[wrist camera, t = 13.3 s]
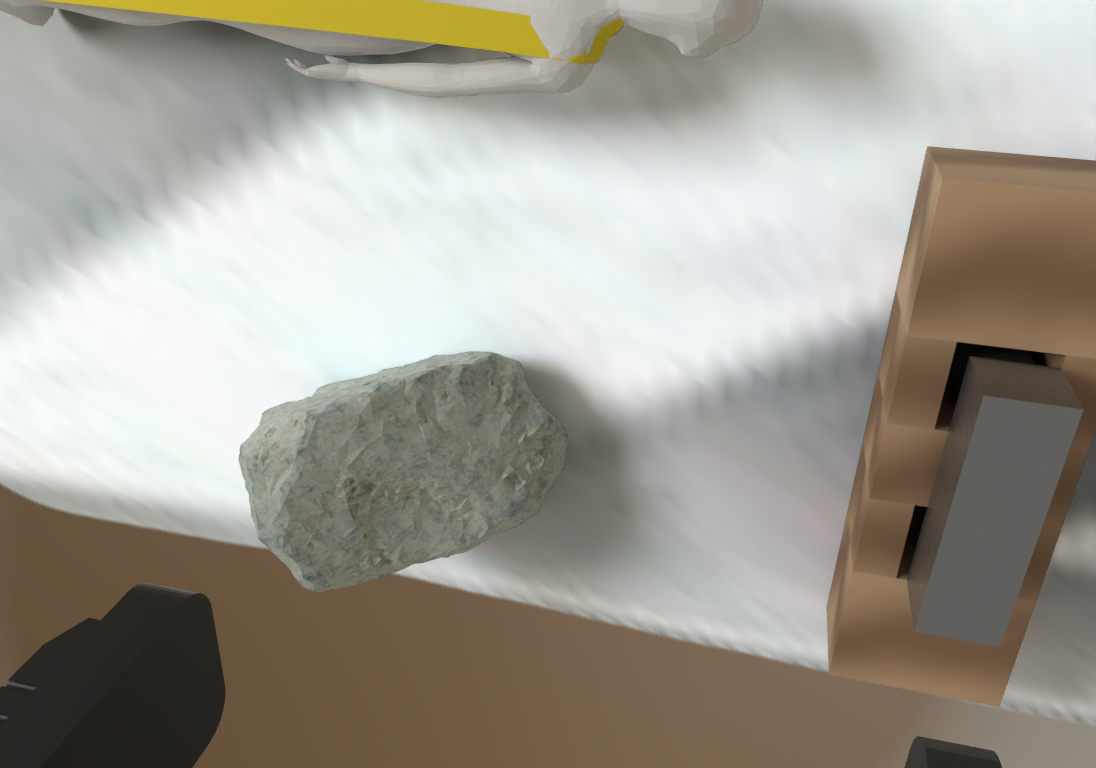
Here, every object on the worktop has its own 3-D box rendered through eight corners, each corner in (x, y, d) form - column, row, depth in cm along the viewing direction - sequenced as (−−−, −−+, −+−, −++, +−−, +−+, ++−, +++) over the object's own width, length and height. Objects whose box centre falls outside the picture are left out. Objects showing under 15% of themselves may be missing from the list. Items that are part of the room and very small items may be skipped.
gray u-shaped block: (950, 302, 38) (983, 395, 31) (1031, 312, 37) (1083, 409, 30) (896, 510, 42) (914, 631, 36) (967, 521, 42) (999, 647, 35)
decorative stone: (290, 496, 50) (330, 662, 43) (196, 344, 42) (226, 518, 35) (528, 399, 52) (604, 542, 45) (481, 235, 44) (565, 379, 37)
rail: (927, 146, 35) (942, 178, 31) (1133, 164, 34) (1176, 199, 30) (826, 607, 46) (829, 674, 42) (982, 634, 44) (999, 706, 40)
